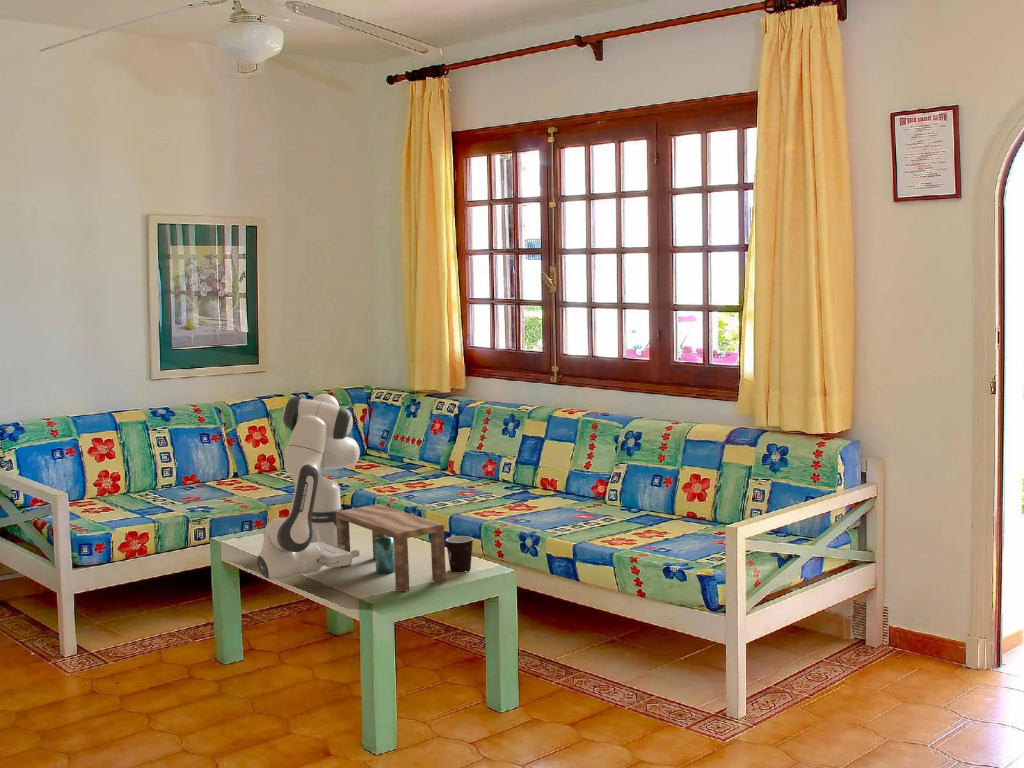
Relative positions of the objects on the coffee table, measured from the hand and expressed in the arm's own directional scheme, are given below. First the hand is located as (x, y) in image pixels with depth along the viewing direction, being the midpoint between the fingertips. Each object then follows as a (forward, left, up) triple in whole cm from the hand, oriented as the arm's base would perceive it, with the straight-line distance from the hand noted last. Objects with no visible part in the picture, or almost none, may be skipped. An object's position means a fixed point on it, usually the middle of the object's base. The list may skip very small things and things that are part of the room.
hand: (351, 550), depth 334 cm
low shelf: (+9, +8, -9) cm, 15 cm away
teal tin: (+7, +10, -9) cm, 15 cm away
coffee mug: (+30, +15, -9) cm, 35 cm away
